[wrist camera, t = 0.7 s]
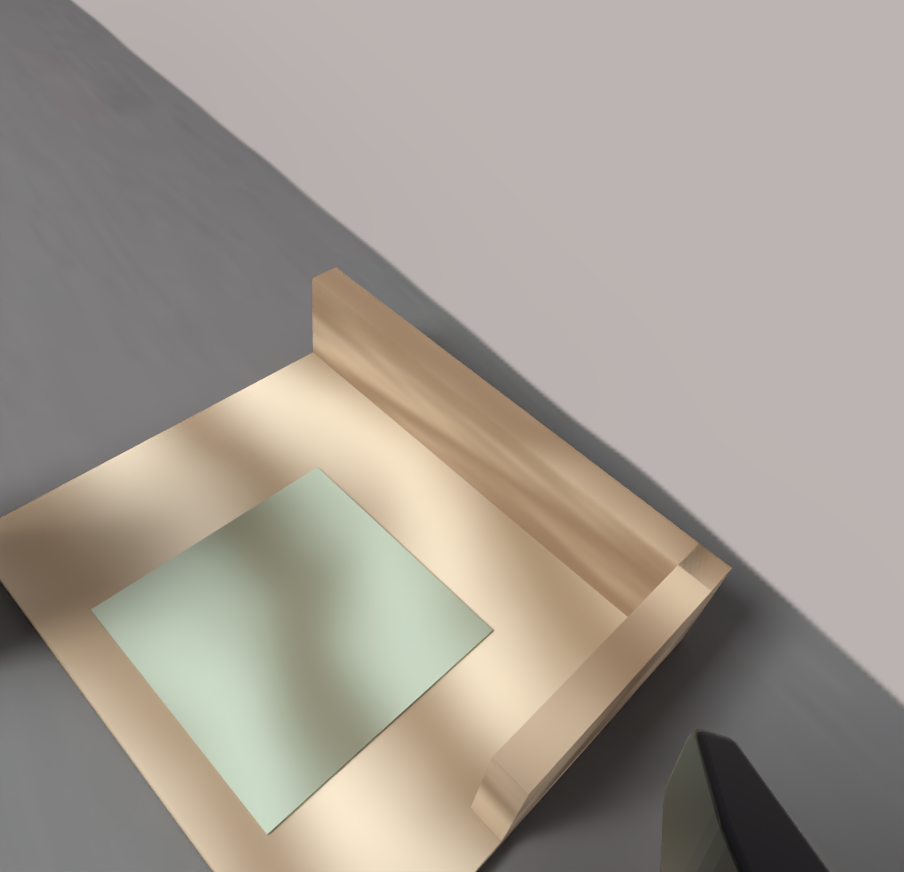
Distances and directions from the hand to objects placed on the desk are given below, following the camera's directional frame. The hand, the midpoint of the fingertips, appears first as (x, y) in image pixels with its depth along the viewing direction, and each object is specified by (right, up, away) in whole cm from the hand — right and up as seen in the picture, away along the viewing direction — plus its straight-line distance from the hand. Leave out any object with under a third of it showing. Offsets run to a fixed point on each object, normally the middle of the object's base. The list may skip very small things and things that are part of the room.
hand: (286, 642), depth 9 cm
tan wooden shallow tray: (-2, -3, +18) cm, 19 cm away
